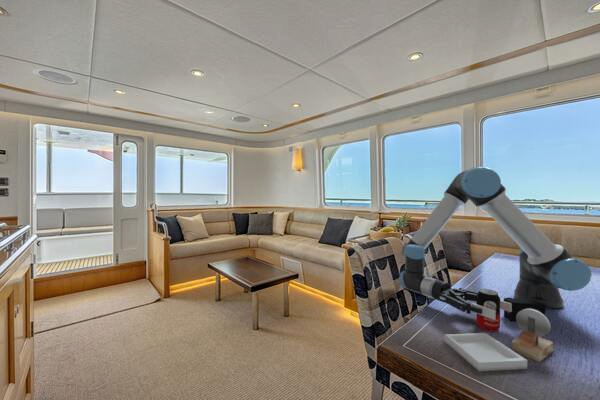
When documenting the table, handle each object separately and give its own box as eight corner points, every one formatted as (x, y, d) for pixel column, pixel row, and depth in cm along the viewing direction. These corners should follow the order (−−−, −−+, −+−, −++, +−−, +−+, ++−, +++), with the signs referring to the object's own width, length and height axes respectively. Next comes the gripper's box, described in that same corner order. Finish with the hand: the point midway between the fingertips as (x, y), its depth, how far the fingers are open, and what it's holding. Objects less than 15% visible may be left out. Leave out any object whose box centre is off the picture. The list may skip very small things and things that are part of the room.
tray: (485, 339, 77) (485, 332, 77) (527, 368, 64) (527, 360, 64) (444, 341, 76) (444, 334, 76) (478, 371, 63) (478, 362, 63)
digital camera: (533, 317, 92) (534, 298, 92) (545, 325, 86) (545, 304, 86) (501, 315, 94) (501, 296, 93) (511, 322, 88) (511, 302, 88)
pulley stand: (524, 339, 77) (524, 302, 77) (555, 351, 71) (556, 311, 71) (509, 349, 72) (509, 309, 72) (541, 363, 66) (542, 319, 66)
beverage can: (472, 324, 86) (472, 289, 86) (484, 321, 88) (484, 287, 88) (492, 334, 80) (492, 296, 80) (504, 330, 83) (504, 293, 82)
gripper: (452, 293, 106) (518, 315, 86) (417, 304, 94) (485, 332, 75) (452, 275, 105) (519, 293, 86) (417, 284, 94) (485, 307, 75)
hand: (503, 311), depth 81 cm, fingers open, 10 cm apart
